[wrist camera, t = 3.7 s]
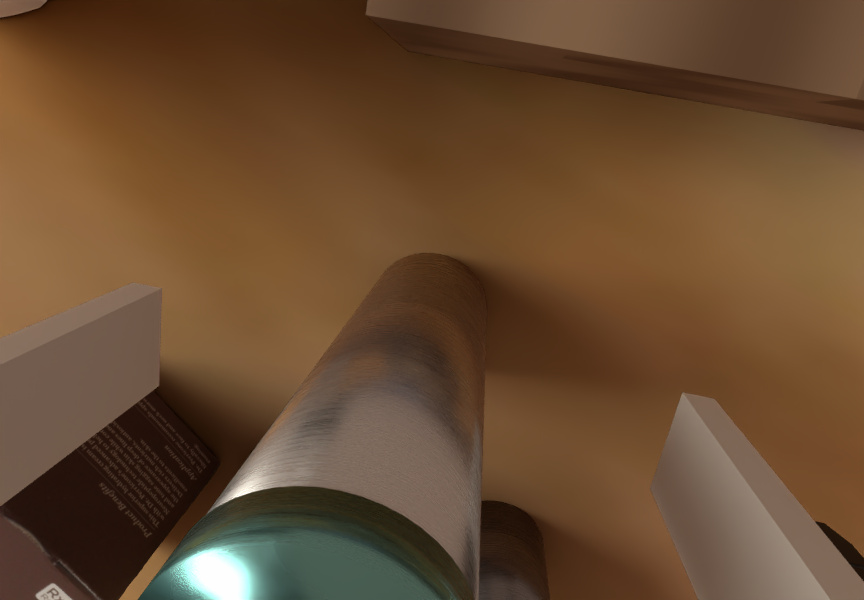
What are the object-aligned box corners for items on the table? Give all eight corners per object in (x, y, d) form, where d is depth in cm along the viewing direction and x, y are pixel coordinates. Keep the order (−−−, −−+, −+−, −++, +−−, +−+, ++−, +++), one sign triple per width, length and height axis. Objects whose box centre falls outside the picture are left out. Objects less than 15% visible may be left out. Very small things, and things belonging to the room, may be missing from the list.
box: (22, 424, 23) (-184, 555, 16) (120, 345, 21) (-60, 451, 14) (127, 532, 24) (-24, 700, 17) (228, 464, 22) (108, 617, 15)
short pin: (432, 574, 23) (416, 691, 18) (450, 490, 22) (437, 593, 17) (530, 595, 23) (540, 719, 18) (553, 513, 22) (571, 622, 17)
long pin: (363, 352, 20) (117, 782, 7) (379, 241, 19) (117, 509, 6) (476, 375, 20) (443, 860, 7) (499, 264, 19) (516, 594, 6)
